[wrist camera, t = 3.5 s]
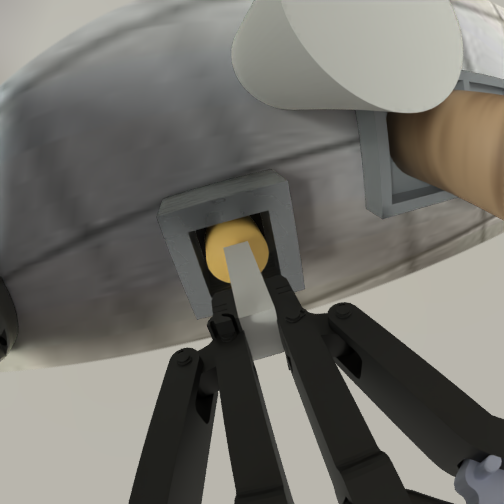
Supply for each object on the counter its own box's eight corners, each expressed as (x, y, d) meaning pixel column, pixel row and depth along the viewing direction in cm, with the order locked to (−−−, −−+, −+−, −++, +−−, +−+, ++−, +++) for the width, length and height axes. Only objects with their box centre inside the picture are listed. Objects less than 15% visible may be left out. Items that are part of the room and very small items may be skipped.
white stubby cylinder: (355, 46, 17) (475, 20, 6) (312, 129, 20) (427, 155, 9) (262, -8, 14) (330, -98, 3) (210, 79, 17) (230, 26, 6)
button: (213, 268, 22) (216, 290, 19) (197, 220, 20) (198, 237, 17) (263, 253, 22) (273, 274, 20) (253, 205, 20) (262, 219, 18)
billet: (388, 184, 22) (502, 246, 11) (378, 88, 18) (510, 95, 7) (449, 171, 22) (549, 217, 12) (444, 89, 18) (555, 106, 8)
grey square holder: (195, 288, 24) (197, 319, 20) (163, 198, 20) (156, 216, 16) (289, 262, 24) (304, 288, 21) (271, 168, 20) (287, 180, 17)
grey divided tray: (366, 208, 23) (382, 219, 21) (347, 65, 17) (364, 61, 15) (503, 173, 25) (518, 179, 22) (500, 81, 19) (516, 82, 17)
